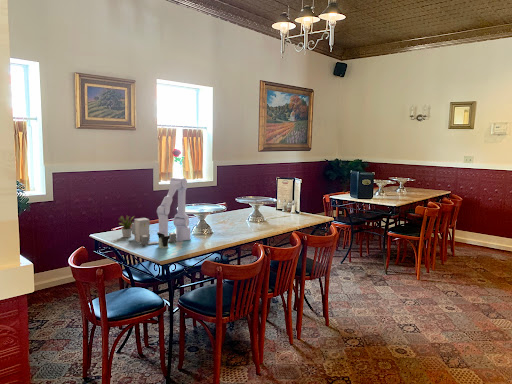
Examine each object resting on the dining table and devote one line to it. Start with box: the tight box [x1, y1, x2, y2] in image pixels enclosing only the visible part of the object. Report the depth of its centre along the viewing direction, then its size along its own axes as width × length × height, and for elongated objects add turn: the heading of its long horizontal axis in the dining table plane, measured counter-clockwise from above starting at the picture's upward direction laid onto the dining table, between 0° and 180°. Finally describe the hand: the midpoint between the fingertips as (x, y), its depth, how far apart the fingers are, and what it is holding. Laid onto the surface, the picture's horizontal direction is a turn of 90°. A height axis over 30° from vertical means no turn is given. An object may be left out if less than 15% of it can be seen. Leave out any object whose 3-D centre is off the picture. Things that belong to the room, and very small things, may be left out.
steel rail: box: [139, 240, 178, 247], centre depth 260 cm, size 24×4×1 cm, turn 119°
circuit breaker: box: [131, 217, 151, 244], centre depth 268 cm, size 8×14×15 cm, turn 41°
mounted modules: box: [140, 232, 176, 246], centre depth 260 cm, size 22×5×5 cm, turn 119°
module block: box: [158, 237, 169, 249], centre depth 250 cm, size 5×5×6 cm
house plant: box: [118, 215, 135, 238], centre depth 274 cm, size 14×14×16 cm
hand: (163, 245), depth 250 cm, fingers open, 7 cm apart
